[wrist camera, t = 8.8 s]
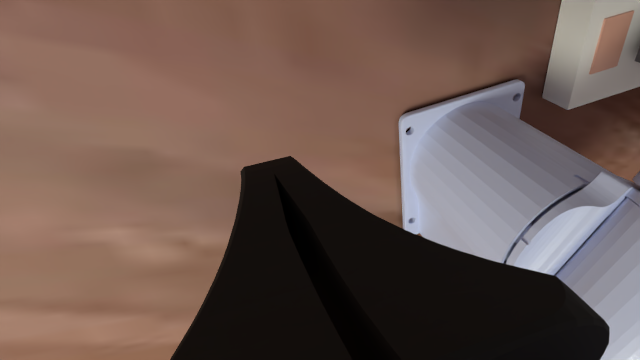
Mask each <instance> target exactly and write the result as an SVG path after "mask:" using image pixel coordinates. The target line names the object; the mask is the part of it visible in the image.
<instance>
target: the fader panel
mask: <svg viewBox="0 0 640 360" xmlns="http://www.w3.org/2000/svg"><path fill="white" fill-rule="evenodd" d="M639 47H640V0H562V2H561V6H560V11H559V16H558V21H557V26H556V31H555V36H554V41H553V46H552V51H551V56H550V61H549V66H548V71H547V75H546V80H545V85H544V90H543V95H542V98H544V99H546V100H548V101H550V102H552V103H554V104H556V105H558V106H560V107H562V108H564V109H566V110H570V109H573V108H576V107H579V106H582V105H585V104H588V103H591V102H594V101H597V100H600V99H603V98H606V97H609V96H612V95H615V94H618V93H621V92H625V91H628V90H631V89H634V88H637V87H640V63H639V62H636V61H635V58H636V56H637V53H638V50H639Z"/></svg>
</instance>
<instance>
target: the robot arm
mask: <svg viewBox="0 0 640 360" xmlns="http://www.w3.org/2000/svg"><path fill="white" fill-rule="evenodd" d="M524 89H525V84H524V82H522V81H520V80H518V79H516V80H512V81H509V82H506V83H502V84H499V85H496V86H493V87H489V88H486V89H483V90H480V91H476V92H473V93H470V94H467V95H463V96H460V97H457V98H453V99H450V100H447V101H444V102H440V103H437V104H434V105H431V106H427V107H424V108H421V109H418V110H414V111H411V112H408V113H405V114H403V115H402V116H401V118H400V120H399V142H400V166H401V190H402V214H403V229H402V228H400V227H397V226H395V225H393V224H391V223H389V222H387V221H385V220H383V219H381V218H379V217H377V216H375V215H373V214H372V213H370V212H368V211H366V210H365V209H363V208H361V207H360V206H358V205H356V204H355V203H353V202H351V201H350V200H348V199H347V198H345V197H344V196H342V195H341V194H339V193H338V192H337V191H335V190H334V189H332V188H331V187H330V186H328V185H327V184H325V183H324V182H323V181H321V180H320V179H319V178H317V177H316V176H315V175H314V174H312V173H311V172H310V171H309V170H307V169H306V168H305V167H304V166H302V165H301V164H300V163H299V162H298V161H297V160H295V159H294V158H292V157H291V156H288V157H284V158H280V159H276V160H272V161H267V162H263V163H259V164H255V165H250V166H246V167H244V168H243V169H242V170H241V192H240V199H239V204H238V209H237V214H236V219H235V222H234V226H233V229H232V233H231V236H230V239H229V243H228V246H227V249H226V251H225V254H224V257H223V260H222V262H221V265H220V267H219V269H218V272H217V274H216V277H215V279H214V281H213V283H212V285H211V287H210V289H209V292H208V294H207V296H206V298H205V300H204V302H203V304H202V306H201V308H200V310H199V312H198V313H197V315H196V317H195V319H194V321H193V323H192V324H191V326H190V328H189V329H188V331H187V333H186V334H185V336H184V338H183V339H182V341H181V343H180V344H179V346H178V348H177V349H176V351H175V353H174V354H173V356H172V357H171V359H170V360H640V171H639V172H638V173H637V175H636V176H635V177H634V178H633V181H634V182H635V183H634V182H631V181H629V180H626V179H624V178H622V177H619V176H617V175H615V174H613V173H611V172H610V171H608V170H606V169H604V168H603V167H601V166H599V165H598V164H596V163H594V162H592V161H591V160H589V159H587V158H586V157H584V156H582V155H580V154H579V153H577V152H575V151H574V150H572V149H570V148H568V147H567V146H565V145H563V144H562V143H560V142H558V141H556V140H555V139H553V138H551V137H550V136H548V135H546V134H544V133H543V132H541V131H539V130H538V129H536V128H534V127H532V126H531V125H529V124H527V123H526V122H524V121H522V120H520V119H519V118H520V112H521V106H522V100H523V94H524ZM515 94H516V95H515ZM514 95H515V97H514ZM513 97H514V98H513ZM409 127H411V128H410V130H409V131H408V132H406V130H407V128H409ZM410 218H411V219H410ZM409 219H410V220H409ZM418 233H420V234H421V235H422V236H423V237H421V236H418V235H416V234H418Z"/></svg>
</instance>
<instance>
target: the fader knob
mask: <svg viewBox="0 0 640 360" xmlns="http://www.w3.org/2000/svg"><path fill="white" fill-rule="evenodd" d="M635 61H636V62H639V63H640V47H639V50H638V53H637V56H636V58H635Z"/></svg>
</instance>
